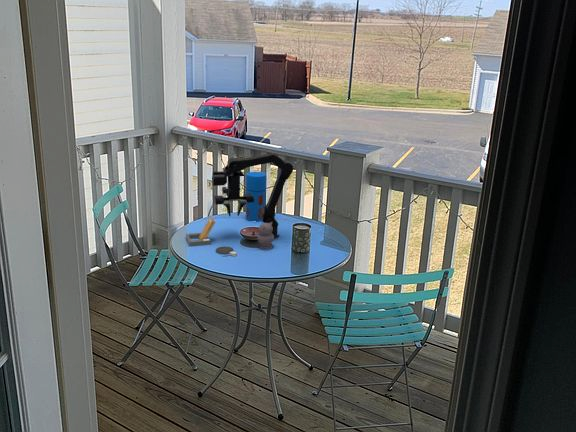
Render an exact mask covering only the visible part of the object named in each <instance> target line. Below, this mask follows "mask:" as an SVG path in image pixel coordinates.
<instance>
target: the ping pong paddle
mask: <svg viewBox="0 0 576 432" xmlns="http://www.w3.org/2000/svg"><path fill="white" fill-rule="evenodd" d="M215 253H216V254H217V255H218V254H219V255H222V256H226V257H232V258H235V257H237V256H238V252H236V251H234V248H233V247H231V246H226V245H225V246H219V247H217V248H216V249H215Z"/></svg>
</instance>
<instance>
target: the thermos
mask: <svg viewBox="0 0 576 432" xmlns="http://www.w3.org/2000/svg"><path fill="white" fill-rule="evenodd" d="M245 178H246V179H245V194H252V196H253V197H254V202H250V203H248V202H247V201H246V204H245V220H246V221H247V222H251V221H256V222H255V223H261V222H263V221H262V219H261V217H260V213H259V212H260V211H261V208H262V205H263V206H266V204H267V174H266V172H263V171H249V172H247V173H246V176H245ZM260 221H261V222H260Z"/></svg>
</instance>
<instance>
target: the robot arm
mask: <svg viewBox="0 0 576 432" xmlns="http://www.w3.org/2000/svg"><path fill="white" fill-rule="evenodd" d="M271 163H272V164H274V165H275V166H276V167H277V174H276V180H275V182H274V184H273V188H272V190H271V193H270V196H269V198H268V201H267V202H266V206H263V205H262V208H261V211H260V212H259V213H260V217H261V219H262V221H261V222H263V223H271V222H272V227H273V231H272V234H273V235H274V239H276V238H278V237H280V234H278V231H279V230H278V229H279V228H278V227H279V223H278V221H277V219H276V207H277V204H278V202H279V200H280V197H281V194H282V192H283V188H284V186H285V184H286V182H287V180H288V179H290V177H291V175H292V173H293V171H294V166H293V165H292V163H290V161H288V160H286V159H282V158H281V157H279V156H278V155H276V154H275V153H273V152H269V153H265V154H260V155H255V156H250V157H230V158H229V159H228V160H227V163H226V165H225V167H224V168H223V169H222V171H217V170H215V171H212V176H211V183H212V184H211V185H212V186H213V187H216V186H222V187H221V193H222V194H225V196H226V197H224V196H223V195H221V194H220V195H214V196H213V202H214V204H215V205H217V206H219V205H223V206H225V208H226V211H227V214H228V217H231V204H230V203H229V202H236V201H237V217H239V216H240V214H241V212H242V209H244V206H246V201H247V202H248V203H250V202H254V197H253V196H252V194H246V193H244V194H243V195H241V177H244V176H245V174H244V172H242V171H244V170H245V169H247V168H249V167H256V166H260V165H265V164H271ZM226 184H227V186H225V185H226Z"/></svg>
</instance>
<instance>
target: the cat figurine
mask: <svg viewBox="0 0 576 432" xmlns="http://www.w3.org/2000/svg"><path fill="white" fill-rule="evenodd" d="M272 231H273V227H272V222H271V223H264V222H263V223H261V224H260V225H259V227H258V232H259V234H257V236H256V238H257V242H258V248H259V249H261V250H271V249H272V248H273V241H274V240H275V238H274V235H273V234H272Z"/></svg>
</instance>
